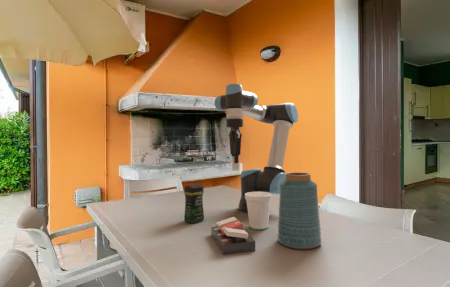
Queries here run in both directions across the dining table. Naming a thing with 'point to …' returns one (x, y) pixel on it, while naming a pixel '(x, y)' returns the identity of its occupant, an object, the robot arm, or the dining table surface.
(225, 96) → the robot arm
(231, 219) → the rocker
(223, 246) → the rocker switch panel
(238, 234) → the rocker
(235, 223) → the rocker
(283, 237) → the vase
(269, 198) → the cup
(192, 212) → the coffee jar
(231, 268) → the dining table surface
